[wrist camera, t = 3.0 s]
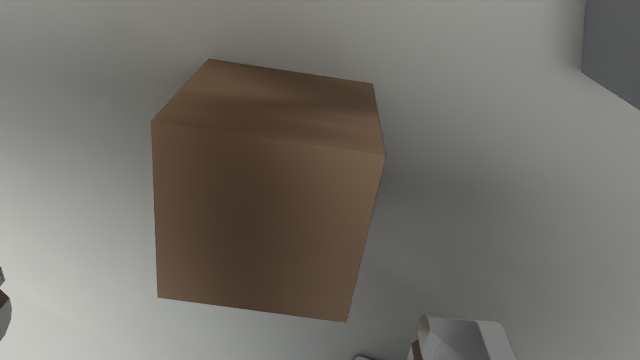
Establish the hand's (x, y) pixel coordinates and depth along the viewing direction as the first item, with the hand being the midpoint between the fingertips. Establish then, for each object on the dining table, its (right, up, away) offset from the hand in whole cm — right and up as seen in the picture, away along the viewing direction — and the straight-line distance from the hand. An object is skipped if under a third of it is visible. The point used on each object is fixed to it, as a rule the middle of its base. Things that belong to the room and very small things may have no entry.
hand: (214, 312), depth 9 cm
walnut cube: (+1, +4, +6) cm, 7 cm away
